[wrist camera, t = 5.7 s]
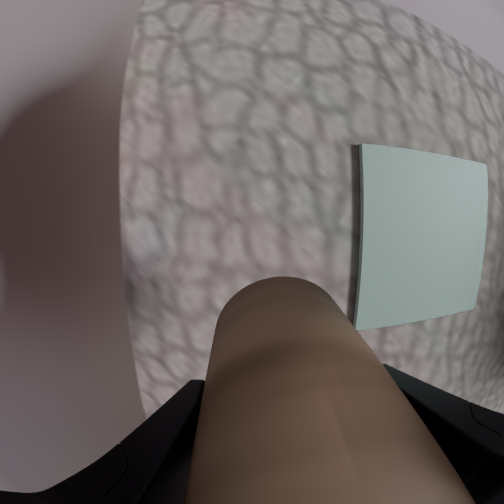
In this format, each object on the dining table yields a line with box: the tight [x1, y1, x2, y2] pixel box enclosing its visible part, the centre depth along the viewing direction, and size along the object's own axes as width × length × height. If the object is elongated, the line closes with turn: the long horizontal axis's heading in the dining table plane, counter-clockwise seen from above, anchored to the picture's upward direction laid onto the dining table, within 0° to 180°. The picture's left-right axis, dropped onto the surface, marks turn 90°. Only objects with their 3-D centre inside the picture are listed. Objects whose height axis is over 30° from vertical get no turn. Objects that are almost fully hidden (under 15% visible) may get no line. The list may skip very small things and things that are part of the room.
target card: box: [353, 144, 488, 331], centre depth 19 cm, size 14×14×1 cm
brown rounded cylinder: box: [184, 277, 476, 504], centre depth 6 cm, size 5×5×9 cm
